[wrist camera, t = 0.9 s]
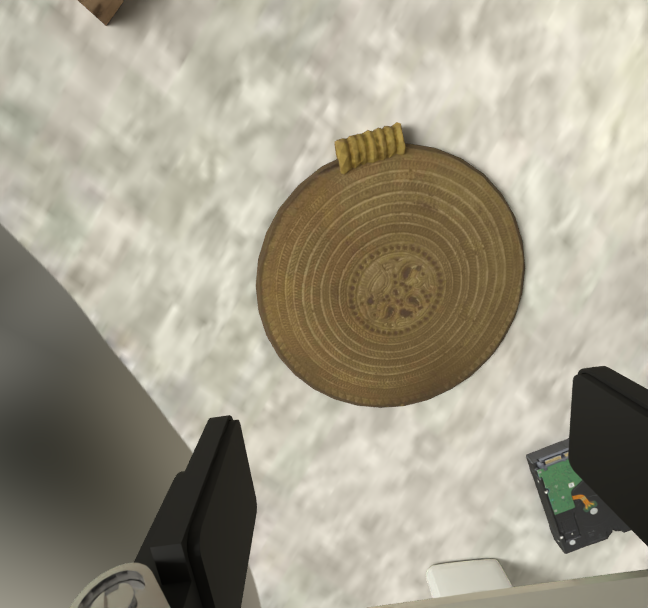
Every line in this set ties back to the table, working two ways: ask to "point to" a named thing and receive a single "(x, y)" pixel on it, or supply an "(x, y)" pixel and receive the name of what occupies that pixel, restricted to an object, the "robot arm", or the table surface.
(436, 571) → the photo printer
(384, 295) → the decorative disc
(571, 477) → the disk drive
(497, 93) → the table surface
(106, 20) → the rack
